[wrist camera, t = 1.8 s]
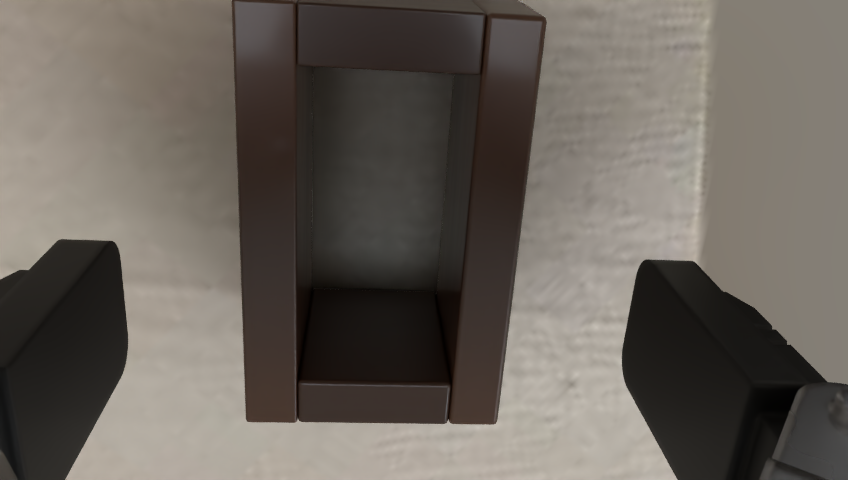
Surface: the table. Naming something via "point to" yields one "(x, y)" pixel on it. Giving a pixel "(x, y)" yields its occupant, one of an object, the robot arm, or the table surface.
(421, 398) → the frame
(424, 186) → the table surface
